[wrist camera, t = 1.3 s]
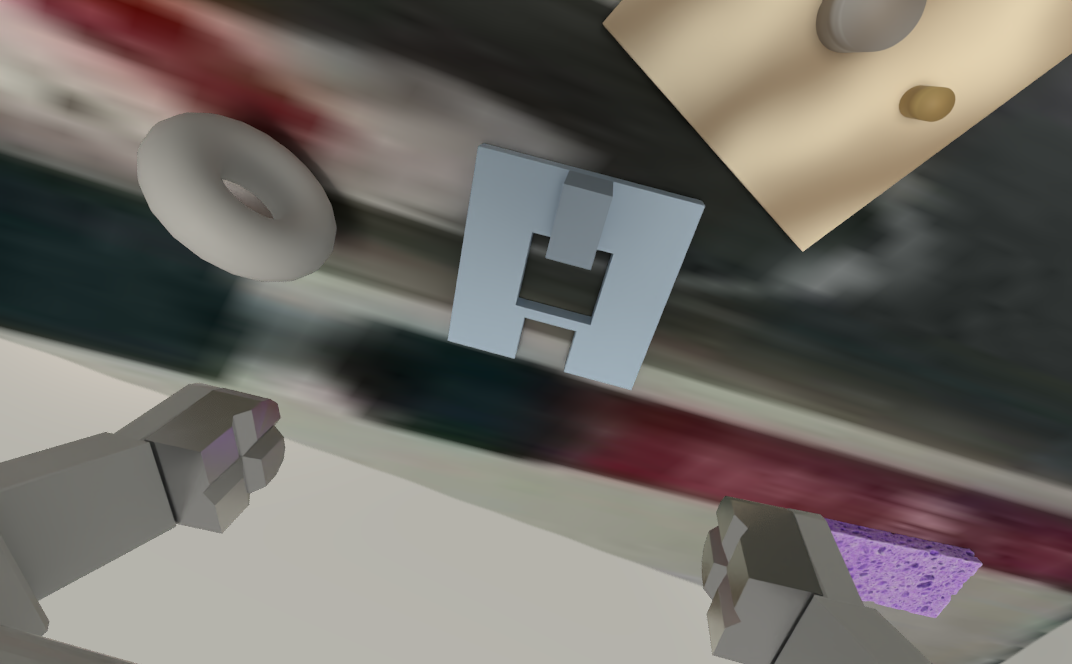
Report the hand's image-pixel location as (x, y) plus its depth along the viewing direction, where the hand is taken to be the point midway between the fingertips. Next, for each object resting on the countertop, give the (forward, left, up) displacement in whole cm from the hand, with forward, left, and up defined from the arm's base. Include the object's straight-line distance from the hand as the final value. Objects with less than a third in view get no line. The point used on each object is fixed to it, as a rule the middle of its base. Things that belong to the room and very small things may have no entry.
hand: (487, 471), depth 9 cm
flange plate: (+3, -4, -23) cm, 24 cm away
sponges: (+38, -4, -24) cm, 45 cm away
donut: (-13, -12, -23) cm, 29 cm away
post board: (+3, +14, -23) cm, 27 cm away
